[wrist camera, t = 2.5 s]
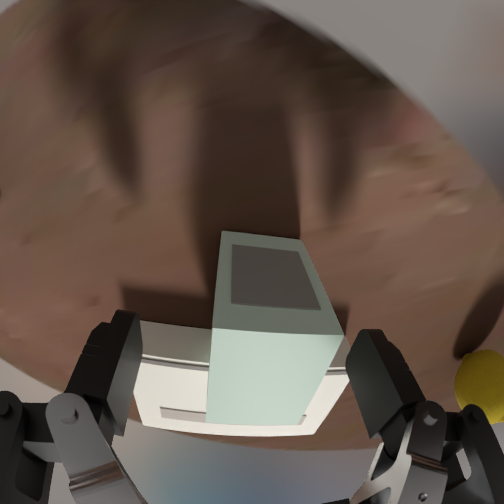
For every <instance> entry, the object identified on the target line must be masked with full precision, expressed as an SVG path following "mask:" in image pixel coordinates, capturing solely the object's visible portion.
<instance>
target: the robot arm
mask: <svg viewBox="0 0 504 504" xmlns="http://www.w3.org/2000/svg"><path fill="white" fill-rule="evenodd" d="M142 354H143V342H142V334H141V326H140V317H139V313H137V312H131V311H124V310H117V311H116V312H115V314H114V316H113V318H112V321H111V323H106V322H101V323H100V324H99V325H98V326H97V327H96V328H95V329H93V330H92V332H91V334H90V336H89V338H88V340H87V342H86V345H85V346H84V349H83V351H82V354H81V355H80V357H79V360H78V362H77V364H76V366H75V369H74V371H73V373H72V376H71V378H70V381H69V383H68V385H67V388H66V390H65V391H64V393H62V394H59V395H57V396H55V397H54V398H52V399H51V400H50V402H48V403H22V402H21V401H20V400H19V398H18V397H17V396H16V395H15V394H14V393H12V392H9V391H0V504H48V499H49V491H50V485H51V479H52V474H53V468H54V463H55V462H62V463H63V465H64V467H65V470H66V472H67V474H68V476H69V479H70V483H69V489H70V492H71V494H72V496H73V498H74V500H75V502H76V504H148V502H147V501H146V500H145V498H144V497H143V496H142V495H141V493H140V492H139V491H138V489H137V487H136V486H135V484H134V483H133V481H132V480H131V478H130V477H129V475H128V473H127V472H126V470H125V469H124V467H123V465H122V464H121V462H120V460H119V458H118V457H117V455H116V453H115V451H114V450H113V448H112V446H111V445H112V441H113V436H114V434H115V435H119V436H123V435H124V431H125V426H126V422H127V417H128V413H129V408H130V404H131V399H132V395H133V391H134V387H135V383H136V379H137V375H138V371H139V367H140V364H141V360H142ZM345 368H346V372H347V375H348V378H349V380H350V383H351V386H352V389H353V391H354V394H355V397H356V400H357V402H358V405H359V408H360V411H361V414H362V417H363V419H364V422H365V425H366V428H367V431H368V434H369V437H370V439H373V438H378V437H382V440H383V441H382V442H381V443H380V445H379V447H378V450H377V452H376V455H375V457H374V460H373V462H372V465H371V467H370V470H369V472H368V474H367V477H366V479H365V481H364V483H363V485H362V486H361V487H360V489H358V491H357V492H356V493H355V494H354V495H353V497H352V499H351V500H350V501H349V499H343V500H339V501H334V502H328V503H323V504H504V454H503V452H502V449H501V447H500V445H499V442H498V440H497V438H496V436H495V434H494V431H493V429H492V427H491V425H490V423H489V421H488V419H487V417H486V415H485V413H484V411H483V410H482V409H481V408H480V407H479V406H477V405H475V404H468V405H466V406H465V407H464V408H463V409H462V410H461V411H460V412H459V413H457V412H445V410H444V409H443V407H442V406H441V405H439V404H438V403H437V402H434V401H431V400H426V399H425V397H424V395H423V393H422V391H421V389H420V387H419V385H418V383H417V381H416V380H415V378H414V376H413V374H412V372H411V371H409V369H410V368H409V367H408V365H407V363H406V362H405V359H404V357H403V356H402V354H401V352H400V350H399V349H398V348H397V347H395V346H394V345H393V344H392V343H391V342H388V340H387V338H386V336H385V335H384V333H383V331H382V330H380V329H362V330H361V331H360V332H359V333H358V335H357V337H356V339H355V341H354V343H353V345H352V347H351V349H350V351H349V353H348V355H347V357H346V362H345ZM462 448H464V451H465V453H466V456H467V458H468V461H469V464H470V466H471V470H472V473H471V476H470V477H469V479H468V480H466V479H465V478H464V475H463V472H462V470H461V467H460V464H459V461H458V458H457V456H456V453H457V452H459V451H460V450H461V449H462Z"/></svg>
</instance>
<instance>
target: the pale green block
mask: <svg viewBox="0 0 504 504" xmlns="http://www.w3.org/2000/svg"><path fill="white" fill-rule="evenodd" d="M343 337H344V333H343V331H342V328H341V326H340V324H339V321H338V319H337V317H336V314H335V312H334V310H333V307H332V305H331V303H330V301H329V298H328V296H327V294H326V292H325V289H324V287H323V285H322V283H321V280H320V278H319V276H318V274H317V272H316V269H315V267H314V265H313V263H312V261H311V259H310V257H309V254H308V252H307V250H306V248H305V246H304V244H303V242H302V240H298V239H290V238H282V237H273V236H265V235H257V234H248V233H240V232H231V231H222V233H221V242H220V251H219V260H218V269H217V279H216V289H215V299H214V309H213V320H212V332H211V345H210V358H209V372H208V387H207V404H206V422H208V423H220V424H238V425H297V424H298V422H299V421H300V419H301V417H302V416H303V414H304V412H305V411H306V409H307V407H308V405H309V403H310V402H311V400H312V398H313V396H314V394H315V393H316V391H317V389H318V387H319V385H320V383H321V381H322V380H323V378H324V376H325V374H326V372H327V370H328V368H329V366H330V364H331V362H332V360H333V358H334V356H335V354H336V352H337V350H338V348H339V346H340V343H341V341H342V339H343Z"/></svg>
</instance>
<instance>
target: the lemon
mask: <svg viewBox="0 0 504 504" xmlns="http://www.w3.org/2000/svg"><path fill="white" fill-rule="evenodd" d="M454 391H455V396H456V399H457V402H458V404H459V406H460V408H461V410H462V409H463V408H464V407H465V406H466V405H468V404H475V405H477V406H479V407H480V408H481V409H482V410H483V411H484V413H485V415H486V417H487V419H488V421H489V423H490V425H491V424H494V423H496V422H501V423H502V422H504V357H503V356H502V355H501V354H499V353H497V352H495V351H492V350H480V351H477V352H475V353H467V354H465V355H464V356H463V359H462V364H461V366H460V367H459V369H458V371H457V374H456V377H455V383H454Z"/></svg>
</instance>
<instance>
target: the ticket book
mask: <svg viewBox="0 0 504 504" xmlns="http://www.w3.org/2000/svg"><path fill="white" fill-rule="evenodd" d="M140 326H141V334H142V342H143V354H142V360H141V364H140V367H139V371H138V375H137V379H136V383H135V387H134V391H133V393H134V396H135V400H136V403H137V407H138V410H139V413H140V416H141V420H142V423H143V425H146V426H151V427H157V428H163V429H170V430H177V431H185V432H194V433H204V434H216V435H234V436H292V435H309V434H314V433H315V431H316V430H317V429H318V427H319V426H320V424H321V423H322V422H323V420H324V419H325V417H326V416H327V414H328V413H329V412H330V410H331V409H332V407H333V406H334V404H335V403H336V401H337V400H338V398H339V396H340V395H341V393H342V392H343V390H344V389H345V387H346V385H347V384H348V382H349V381H350V380H349V378H348V375H347V372H346V368H345V362H346V357H347V355H348V353H349V351H350V349H351V348H350V346H349V343H348V341H347V339H346V337H343V339H342V341H341V343H340V346H339V348H338V350H337V352H336V354H335V356H334V358H333V360H332V362H331V364H330V366H329V368H328V370H327V372H326V374H325V376H324V378H323V380H322V381H321V383H320V385H319V387H318V389H317V391H316V393H315V394H314V396H313V398H312V400H311V402H310V403H309V405H308V407H307V409H306V411H305V412H304V414H303V416H302V417H301V419H300V421H299V422H298V424H297V425H238V424H220V423H208V422H206V404H207V387H208V372H209V358H210V345H211V332H212V329H203V328H194V327H185V326H177V325H169V324H162V323H155V322H148V321H142V320H140Z"/></svg>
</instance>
